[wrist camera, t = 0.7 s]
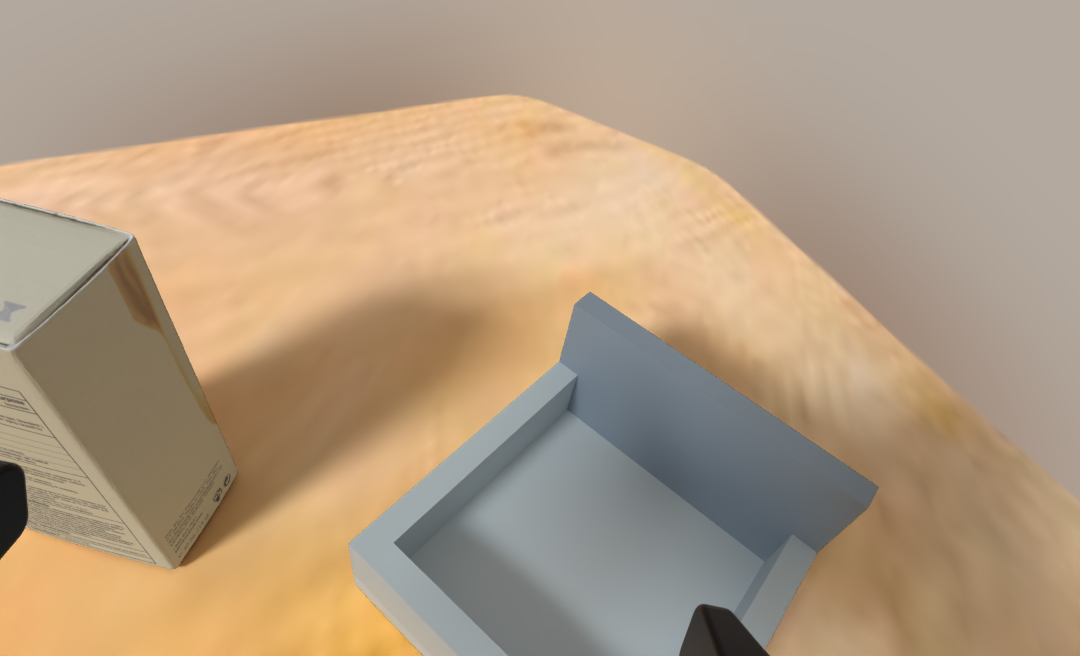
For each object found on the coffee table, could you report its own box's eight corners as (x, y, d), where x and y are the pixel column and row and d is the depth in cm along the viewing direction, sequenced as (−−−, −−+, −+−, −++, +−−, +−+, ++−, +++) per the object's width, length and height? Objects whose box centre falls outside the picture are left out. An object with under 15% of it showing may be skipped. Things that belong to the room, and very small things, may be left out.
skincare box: (243, 471, 25) (153, 233, 17) (176, 576, 23) (23, 356, 14) (92, 427, 26) (-76, 170, 17) (7, 525, 23) (-252, 276, 14)
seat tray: (621, 863, 19) (698, 845, 14) (355, 584, 23) (339, 491, 18) (786, 570, 26) (878, 486, 21) (559, 396, 30) (590, 291, 25)
